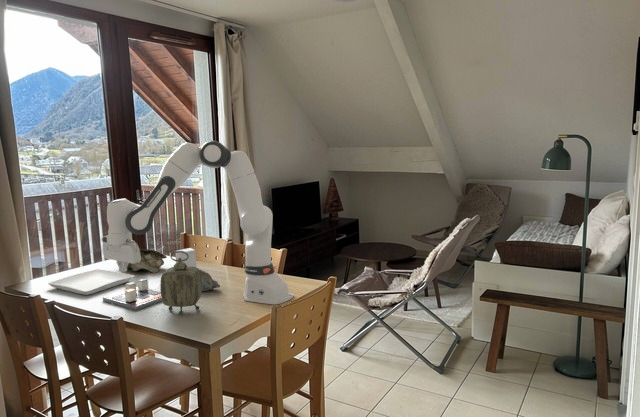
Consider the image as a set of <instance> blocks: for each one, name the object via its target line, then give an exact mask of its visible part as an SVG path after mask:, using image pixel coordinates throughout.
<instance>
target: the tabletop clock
mask: <svg viewBox="0 0 640 417" xmlns="http://www.w3.org/2000/svg"><path fill="white" fill-rule="evenodd" d="M175 253H185V254H186V255H187V256H188V257H187V258H186V259H184V260H181V258H179V259H178V260H176V258H173V255H174V254H175ZM188 258H189V255H188V254H187V253H186V252H184V251H177V250H175V251H173V252H172V253H171V255H170V259H171V260H172V261H173V262H175V264H174V265H173V266H171V267H169V268H167V269H166V270H164V272H163V273H162V275H161V277H160V286H159V287H160V288H159V290H160V291H161V297H162V303H163V305H164V306H167V307H168V310H169V311H172V310H173V309H174V308H180V310H179V311H178V314H179V315H180V316H181V315H184V311H183V308H185V307H192V306H194V307H195V310H197V311H199V310H200V308H201V307H200V306H199V305H197V303H198V302H199V301H200V299H201V297H202V292H203V291H202V279H201V273H200V270H201V269H200V268H199V267H197V266H196V267H192V266H187V265H186V264H185V263H184V262H182V261H186V260H187V259H188ZM176 261H177V263H176ZM199 269H200V270H199ZM173 307H174V308H173Z"/></svg>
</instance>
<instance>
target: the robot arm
mask: <svg viewBox="0 0 640 417" xmlns="http://www.w3.org/2000/svg"><path fill="white" fill-rule="evenodd" d="M201 165H204V166H206V167H208V168H210V169H218V168H223V169H224V170H225V171H226V173H227V176H228V179H229V182H230V186H231V188H232V190H233V193H234V197H235V201H236V206H237V211H238V212H237V213H238V216H239V225H240V228H241V231H243V233H244V234H245V235H246V239H245V246H244V250H245V263H244V273H245V282H244V289H243V294H242V297H243V300H244V302H251V303H260V304H267V305H279V304H280V305H281V304H283V303H286V302H288V301H290V300H291V299H293V298H294V297H295V296H294V293H293V292H289V289H288V284H287V282H286V280H284V279H283V278H282V277H281V276H280V275H279V274H278V273H277V272H276V270H275V269H277V265H273V263H272V235H273V220H274V219H273V216H274V215H273V211H272V210H271V208H270V207H268V206H266V205H264V204H263V198H262V190H261V187H260V184H259V180H258V179H257V175H256V172H255V169H254V167H253V165H252V162H251V160H250V158H249V157H248V155H247V153H246V152H244V151H243V150H234V151H230V150H229V149H228V148H227V146H225V145H223V143H222V142H219V141H217V140H208V141H206V142H204V143H203V144H202V145H201V146H197V145H196V144H194V143H192V142H183V143H182V144H181V145H179V147H178V148H176V149H175V150H174V152H173V153H171V155H169V157H168V159H167V161H165V163H164V165H163V166H162V168H161V170H160V172H159V174H158V177H157V180H156V182H155V185H154V187H153V189H152V191H151V192H150V193H149V194H148V196H147V197H146V199H145V200H144V201H143V202H142V203H141V204H138V203H135V202H132V201H130V200H128V199H127V198H118V199H114V200H112V201H110V202H109V203H108V204H107V206H106V221H107V224H108V230H107V233H108V234H107V235H105V236H102V237H101V242H102V254H103V257H104V259H106V260H111V261H112V260H113V261H115V262H116V264H117V266H118V272H121V273H126V272H127V271H128V268H127V266H128V263H132V264H135V263H139V262H140V261H141V256H140V250H139V249H140V247H139V245H138V243H137V242H136V241H135V240H133V235H139V236H140V235H145V234H147V233H148V232H149V231H150V230H151V229H152V227H153V223H154V221H155V216H156V214H157V212H158V211H159V210H160V208H161V207H162V205H163V204H164V203H165V201H166V200H167V199H168V198H169V196H170V195H171V194H173V193H174V192H175V191H176V190H178V189H179V188H180V187H181V186H182V185H184V184H185V182H186V181H188V179H189V178H190V177H191V175H192V174H193V173H194V171H195V170H196V169H197V168H198V167H199V166H201Z"/></svg>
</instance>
